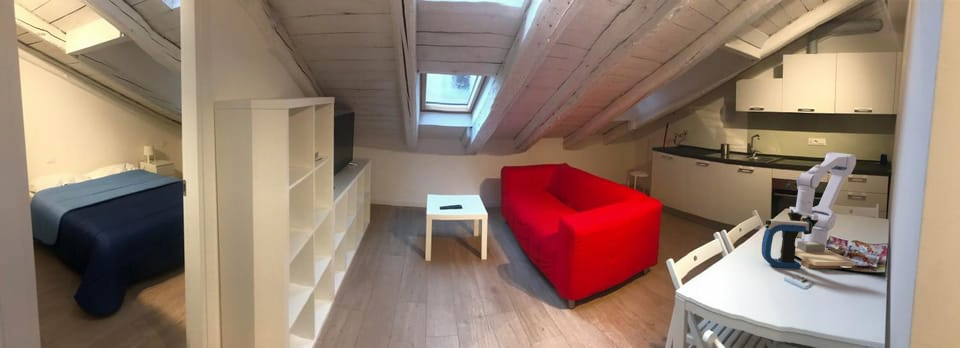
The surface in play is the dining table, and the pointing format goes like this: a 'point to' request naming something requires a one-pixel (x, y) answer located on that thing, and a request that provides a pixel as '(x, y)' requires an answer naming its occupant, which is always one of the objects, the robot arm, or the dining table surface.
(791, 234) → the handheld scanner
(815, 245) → the block
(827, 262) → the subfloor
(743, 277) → the dining table surface
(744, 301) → the dining table surface
